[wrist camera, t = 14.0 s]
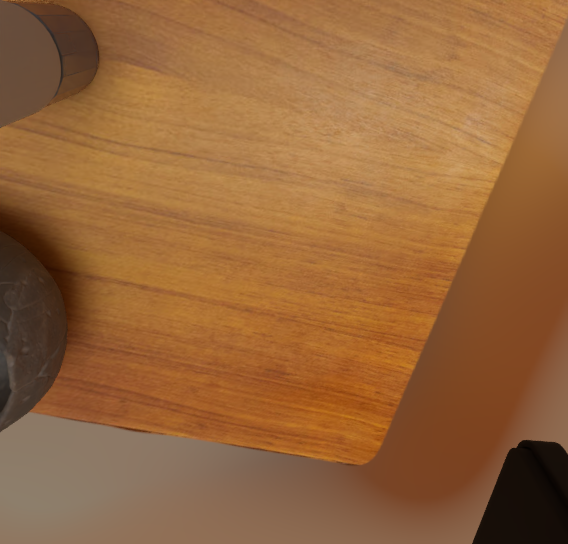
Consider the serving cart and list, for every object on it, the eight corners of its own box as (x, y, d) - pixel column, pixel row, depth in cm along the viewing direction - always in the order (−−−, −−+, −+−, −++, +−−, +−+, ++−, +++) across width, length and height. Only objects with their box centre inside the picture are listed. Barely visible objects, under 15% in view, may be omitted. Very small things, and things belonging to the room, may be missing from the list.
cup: (7, -3, 38) (-53, -7, 31) (98, 10, 39) (60, 9, 31) (14, 90, 41) (-39, 106, 33) (99, 100, 41) (65, 118, 34)
